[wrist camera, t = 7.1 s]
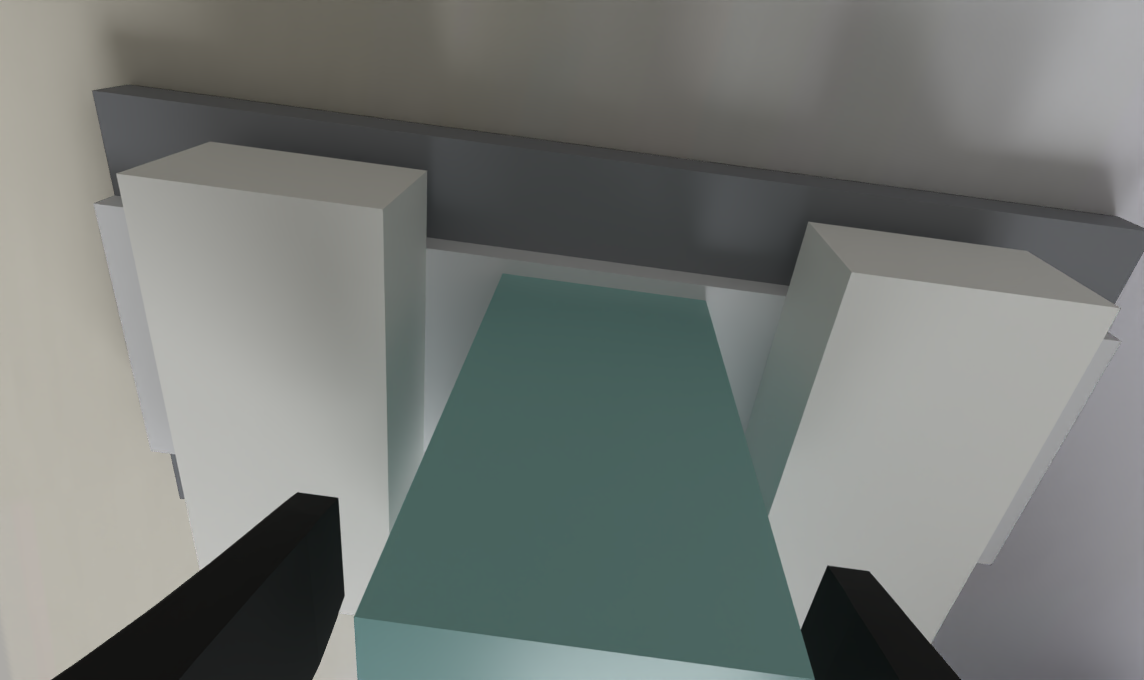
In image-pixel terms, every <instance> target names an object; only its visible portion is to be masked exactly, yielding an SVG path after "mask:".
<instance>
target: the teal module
mask: <svg viewBox="0 0 1144 680" xmlns="http://www.w3.org/2000/svg"><path fill="white" fill-rule="evenodd" d="M354 627H355V644H356V660H357V677H358V680H815V678H814V674H813V671H812V667H811V664H810V661H809V657H808V654H807V650H806V647H805V643H804V640H803V636H802V633H801V629H800V626H799V622H798V619H797V615H796V612H795V608H794V605H793V601H792V598H791V595H790V591H789V588H788V584H787V581H786V577H785V574H784V570H783V567H782V563H781V560H780V556H779V553H778V549H777V546H776V542H775V539H774V535H773V532H772V528H771V525H770V522H769V518H768V515H767V511H766V508H765V504H764V501H763V497H762V494H761V490H760V487H759V483H758V480H757V476H756V473H755V469H754V466H753V462H752V459H751V455H750V452H749V449H748V445H747V442H746V438H745V435H744V431H743V428H742V424H741V421H740V417H739V414H738V410H737V407H736V403H735V400H734V396H733V393H732V389H731V386H730V382H729V379H728V376H727V372H726V369H725V365H724V362H723V358H722V355H721V351H720V348H719V344H718V341H717V337H716V334H715V330H714V327H713V323H712V320H711V316H710V313H709V310H708V306H707V303H706V301H705V300H698V299H690V298H683V297H675V296H668V295H660V294H653V293H646V292H638V291H631V290H623V289H616V288H608V287H601V286H593V285H586V284H578V283H571V282H563V281H556V280H548V279H541V278H533V277H526V276H518V275H511V274H502V276H501V278H500V281H499V283H498V285H497V287H496V290H495V292H494V294H493V297H492V299H491V301H490V304H489V306H488V308H487V311H486V313H485V315H484V318H483V320H482V322H481V324H480V327H479V329H478V331H477V334H476V336H475V338H474V341H473V343H472V345H471V348H470V350H469V352H468V354H467V357H466V359H465V361H464V364H463V366H462V368H461V371H460V373H459V375H458V378H457V380H456V382H455V385H454V387H453V389H452V391H451V394H450V396H449V398H448V401H447V403H446V405H445V408H444V410H443V412H442V415H441V417H440V419H439V422H438V424H437V426H436V428H435V431H434V433H433V435H432V438H431V440H430V442H429V445H428V447H427V449H426V452H425V454H424V456H423V458H422V461H421V463H420V465H419V468H418V470H417V472H416V475H415V477H414V479H413V482H412V484H411V486H410V489H409V491H408V493H407V495H406V498H405V500H404V502H403V505H402V507H401V509H400V512H399V514H398V516H397V519H396V521H395V523H394V525H393V528H392V530H391V532H390V535H389V537H388V539H387V542H386V544H385V546H384V549H383V551H382V553H381V556H380V558H379V560H378V562H377V565H376V567H375V569H374V572H373V574H372V576H371V579H370V581H369V583H368V586H367V588H366V590H365V593H364V595H363V597H362V599H361V602H360V604H359V606H358V609H357V611H356V613H355V616H354Z"/></svg>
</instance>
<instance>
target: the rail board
mask: <svg viewBox="0 0 1144 680" xmlns="http://www.w3.org/2000/svg"><path fill="white" fill-rule="evenodd" d="M92 92H93V96H94V101H95V106H96V110H97V115H98V120H99V124H100V129H101V133H102V138H103V143H104V147H105V152H106V157H107V161H108V166H109V171H110V175H111V180H112V185H113V189H114V194H115V195H114V196H112V197H109V198H107V199H104V200H101V201H99V202H96V203H94V208H95V212H96V217H97V221H98V225H99V230H100V234H101V238H102V243H103V247H104V251H105V255H106V260H107V264H108V268H109V273H110V277H111V281H112V286H113V290H114V294H115V299H116V303H117V307H118V311H119V316H120V320H121V324H122V329H123V333H124V337H125V342H126V346H127V350H128V355H129V359H130V363H131V367H132V372H133V376H134V380H135V385H136V389H137V393H138V398H139V402H140V406H141V411H142V415H143V419H144V423H145V428H146V432H147V436H148V441H149V445H150V449H151V451H154V452H161V453H169V454H171V459H172V464H173V468H174V473H175V477H176V482H177V487H178V491H179V496H180V499H185V503H186V507H187V512H188V517H189V522H190V526H191V531H192V536H193V541H194V545H195V550H196V555H197V560H198V564H199V569H200V570H201V569H203V568H204V567H205V566H206V565H208V564H209V563H210V562H211V561H213V560H214V559H215V558H216V557H218V556H219V555H220V554H221V553H223V552H224V551H225V550H226V549H228V548H229V547H230V546H231V545H232V544H234V543H235V542H236V541H237V540H239V539H240V538H241V537H242V536H244V535H245V534H246V533H247V532H248V531H250V530H251V529H252V528H253V527H254V526H256V525H257V524H258V523H259V522H261V521H262V520H263V519H264V518H265V517H267V516H268V515H269V514H270V513H271V512H273V511H274V510H275V509H276V508H278V507H279V506H280V505H281V504H283V503H284V502H285V501H286V500H288V499H289V498H290V497H291V496H293V495H294V494H296V493H297V492H300V493H308V494H315V495H322V496H329V497H337V498H339V514H340V529H341V545H342V560H343V576H344V591H345V597H344V599H343V602H342V605H341V608H340V611H339V613H341V614H348V615H355V613H356V611H357V609H358V606H359V604H360V602H361V599H362V597H363V595H364V593H365V590H366V588H367V586H368V583H369V581H370V579H371V576H372V574H373V572H374V569H375V567H376V565H377V562H378V560H379V558H380V556H381V553H382V551H383V549H384V546H385V544H386V542H387V539H388V537H389V535H390V532H391V530H392V528H393V525H394V523H395V521H396V519H397V516H398V514H399V512H400V509H401V507H402V505H403V502H404V500H405V498H406V495H407V493H408V491H409V489H410V486H411V484H412V482H413V479H414V477H415V475H416V472H417V470H418V468H419V465H420V463H421V461H422V458H423V456H424V454H425V452H426V449H427V447H428V445H429V442H430V440H431V438H432V435H433V433H434V431H435V428H436V426H437V424H438V422H439V419H440V417H441V415H442V412H443V410H444V408H445V405H446V403H447V401H448V398H449V396H450V394H451V391H452V389H453V387H454V385H455V382H456V380H457V378H458V375H459V373H460V371H461V368H462V366H463V364H464V361H465V359H466V357H467V354H468V352H469V350H470V348H471V345H472V343H473V341H474V338H475V336H476V334H477V331H478V329H479V327H480V324H481V322H482V320H483V318H484V315H485V313H486V311H487V308H488V306H489V304H490V301H491V299H492V297H493V294H494V292H495V290H496V287H497V285H498V283H499V281H500V278H501V276H502V274H511V275H518V276H526V277H533V278H541V279H548V280H556V281H563V282H571V283H578V284H586V285H593V286H601V287H608V288H616V289H623V290H631V291H638V292H646V293H653V294H660V295H668V296H675V297H683V298H690V299H698V300H705V301H706V303H707V306H708V310H709V313H710V316H711V320H712V323H713V327H714V330H715V334H716V337H717V341H718V344H719V348H720V351H721V355H722V358H723V362H724V365H725V369H726V372H727V376H728V379H729V382H730V386H731V389H732V393H733V396H734V400H735V403H736V407H737V410H738V414H739V417H740V421H741V424H742V428H743V431H744V435H745V438H746V442H747V445H748V449H749V452H750V455H751V459H752V462H753V466H754V469H755V473H756V476H757V480H758V483H759V487H760V490H761V494H762V497H763V501H764V504H765V508H766V511H767V515H768V518H769V522H770V525H771V528H772V532H773V535H774V539H775V542H776V546H777V549H778V553H779V556H780V560H781V563H782V567H783V570H784V574H785V577H786V581H787V584H788V588H789V591H790V595H791V598H792V601H793V605H794V608H795V612H796V615H797V619H798V622H799V626H800V629H801V628H802V625H803V623H804V620H805V618H806V616H807V613H808V611H809V608H810V606H811V604H812V601H813V599H814V596H815V594H816V591H817V589H818V587H819V584H820V582H821V579H822V577H823V575H824V572H825V570H826V567H827V565H829V566H836V567H843V568H850V569H857V570H865V571H869V572H870V573H871V574H872V575H873V576H874V577H875V578H876V580H877V581H878V582H879V583H880V584H881V585H882V586H883V588H884V589H885V590H886V591H887V592H888V594H889V595H890V596H891V597H892V598H893V599H894V601H895V602H896V603H897V604H898V605H899V607H900V608H901V609H902V610H903V611H904V613H905V614H906V615H907V616H908V617H909V619H910V620H911V621H912V622H913V623H914V625H915V626H916V627H917V628H918V629H919V631H920V632H921V633H922V634H923V635H924V637H925V638H926V639H927V640H928V641H929V643H930V644H931V643H932V641H933V639H934V637H935V636H936V634H937V632H938V630H939V629H940V627H941V625H942V623H943V622H944V620H945V618H946V616H947V615H948V613H949V611H950V609H951V607H952V606H953V604H954V602H955V600H956V599H957V597H958V595H959V593H960V592H961V590H962V588H963V586H964V584H965V583H966V581H967V579H968V577H969V576H970V574H971V572H972V570H973V569H974V567H975V565H976V563H979V564H987V565H992V563H993V562H994V560H995V558H996V557H997V555H998V553H999V551H1000V550H1001V548H1002V546H1003V545H1004V543H1005V541H1006V539H1007V538H1008V536H1009V534H1010V532H1011V531H1012V529H1013V527H1014V526H1015V524H1016V522H1017V520H1018V519H1019V517H1020V515H1021V514H1022V512H1023V510H1024V508H1025V507H1026V505H1027V503H1028V502H1029V500H1030V498H1031V496H1032V495H1033V493H1034V491H1035V490H1036V488H1037V486H1038V484H1039V483H1040V481H1041V479H1042V478H1043V476H1044V474H1045V472H1046V471H1047V469H1048V467H1049V465H1050V464H1051V462H1052V460H1053V459H1054V457H1055V455H1056V453H1057V452H1058V450H1059V448H1060V447H1061V445H1062V443H1063V441H1064V440H1065V438H1066V436H1067V435H1068V433H1069V431H1070V429H1071V428H1072V426H1073V424H1074V423H1075V421H1076V419H1077V417H1078V416H1079V414H1080V412H1081V411H1082V409H1083V407H1084V405H1085V404H1086V402H1087V400H1088V398H1089V397H1090V395H1091V393H1092V392H1093V390H1094V388H1095V386H1096V385H1097V383H1098V381H1099V380H1100V378H1101V376H1102V374H1103V373H1104V371H1105V369H1106V368H1107V366H1108V364H1109V362H1110V361H1111V359H1112V357H1113V356H1114V354H1115V352H1116V350H1117V349H1118V347H1119V345H1120V344H1121V341H1120V340H1118V339H1117V338H1116V337H1114V336H1113V335H1111V334H1110V333H1108V330H1109V328H1110V327H1111V325H1112V323H1113V321H1114V320H1115V318H1116V316H1117V314H1118V312H1119V311H1120V309H1121V308H1119V307H1118V306H1116V305H1115V302H1116V300H1117V299H1118V297H1119V295H1120V293H1121V291H1122V290H1123V288H1124V286H1125V284H1126V282H1127V281H1128V279H1129V277H1130V275H1131V273H1132V272H1133V270H1134V268H1135V266H1136V265H1137V263H1138V261H1139V259H1140V257H1141V256H1142V254H1143V252H1144V228H1143V227H1140V226H1138V225H1136V224H1133V223H1131V222H1129V221H1127V220H1124V219H1122V218H1120V217H1116V216H1108V215H1101V214H1093V213H1086V212H1078V211H1071V210H1063V209H1056V208H1048V207H1041V206H1033V205H1026V204H1018V203H1011V202H1003V201H996V200H988V199H981V198H973V197H966V196H959V195H951V194H944V193H936V192H929V191H921V190H914V189H906V188H899V187H891V186H884V185H876V184H869V183H861V182H854V181H846V180H839V179H831V178H824V177H816V176H809V175H801V174H794V173H786V172H779V171H771V170H764V169H756V168H749V167H741V166H734V165H726V164H719V163H711V162H704V161H696V160H689V159H682V158H674V157H667V156H659V155H652V154H644V153H637V152H629V151H622V150H614V149H607V148H599V147H592V146H584V145H577V144H569V143H562V142H554V141H547V140H539V139H532V138H524V137H517V136H509V135H502V134H494V133H487V132H479V131H472V130H464V129H457V128H449V127H442V126H434V125H427V124H419V123H412V122H405V121H397V120H390V119H382V118H375V117H367V116H360V115H352V114H345V113H337V112H330V111H322V110H315V109H307V108H300V107H292V106H285V105H277V104H270V103H262V102H255V101H247V100H240V99H232V98H225V97H217V96H210V95H202V94H195V93H187V92H180V91H172V90H165V89H157V88H150V87H142V86H135V85H123V86H117V87H111V88H105V89H99V90H93V91H92Z"/></svg>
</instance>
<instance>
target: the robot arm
mask: <svg viewBox="0 0 1144 680" xmlns="http://www.w3.org/2000/svg"><path fill="white" fill-rule="evenodd" d="M344 597H345V591H344V576H343V560H342V545H341V529H340V514H339V498H337V497H329V496H322V495H315V494H308V493H300V492H297V493H296V494H294V495H293V496H291V497H290V498H289V499H288V500H286V501H285V502H284V503H283V504H281V505H280V506H279V507H278V508H276V509H275V510H274V511H273V512H271V513H270V514H269V515H268V516H267V517H265V518H264V519H263V520H262V521H261V522H259V523H258V524H257V525H256V526H254V527H253V528H252V529H251V530H250V531H248V532H247V533H246V534H245V535H244V536H242V537H241V538H240V539H239V540H237V541H236V542H235V543H234V544H232V545H231V546H230V547H229V548H228V549H226V550H225V551H224V552H223V553H221V554H220V555H219V556H218V557H216V558H215V559H214V560H213V561H211V562H210V563H209V564H208V565H206V566H205V567H204V568H203V569H201V570H200V571H199V572H197V573H196V574H195V575H194V576H192V577H191V578H190V579H189V580H187V581H186V582H185V583H183V584H182V585H181V586H180V587H178V588H177V589H176V590H174V591H173V592H172V593H171V594H169V595H168V596H167V597H165V598H164V599H163V600H162V601H160V602H159V603H158V604H156V605H155V606H154V607H152V608H151V609H150V610H148V611H147V612H146V613H144V614H143V615H142V616H140V617H139V618H137V619H136V620H135V621H133V622H132V623H131V624H129V625H128V626H126V627H125V628H124V629H122V630H121V631H120V632H118V633H117V634H115V635H114V636H113V637H111V638H110V639H108V640H107V641H106V642H104V643H103V644H102V645H100V646H99V647H97V648H96V649H95V650H93V651H92V652H91V653H89V654H88V655H86V656H85V657H84V658H82V659H81V660H79V661H78V662H76V663H75V664H74V665H72V666H71V667H69V668H68V669H66V670H65V671H63V672H62V673H60V674H59V675H57V676H56V677H55V678H53V679H52V680H312V679H313V677H314V675H315V673H316V671H317V669H318V667H319V665H320V662H321V659H322V657H323V654H324V651H325V649H326V646H327V644H328V641H329V638H330V636H331V633H332V630H333V627H334V625H335V622H336V619H337V616H338V613H339V611H340V608H341V605H342V602H343V599H344ZM801 633H802V636H803V640H804V643H805V647H806V650H807V654H808V657H809V661H810V664H811V667H812V671H813V674H814V678H815V680H961V679H960V678H959V677H958V676H957V675H956V673H955V672H954V671H953V670H952V669H951V668H950V666H949V665H948V664H947V663H946V662H945V660H944V659H943V658H942V657H941V656H940V655H939V653H938V652H937V651H936V650H935V649H934V647H933V646H932V645H931V644H930V643H929V641H928V640H927V639H926V638H925V637H924V635H923V634H922V633H921V632H920V631H919V629H918V628H917V627H916V626H915V625H914V623H913V622H912V621H911V620H910V619H909V617H908V616H907V615H906V614H905V613H904V611H903V610H902V609H901V608H900V607H899V605H898V604H897V603H896V602H895V601H894V599H893V598H892V597H891V596H890V595H889V594H888V592H887V591H886V590H885V589H884V588H883V586H882V585H881V584H880V583H879V582H878V581H877V580H876V578H875V577H874V576H873V575H872V574H871V573H870V572H869V571H865V570H857V569H850V568H843V567H836V566H829V565H827V567H826V570H825V572H824V575H823V577H822V579H821V582H820V584H819V587H818V589H817V591H816V594H815V596H814V599H813V601H812V604H811V606H810V608H809V611H808V613H807V616H806V618H805V620H804V623H803V625H802V628H801Z"/></svg>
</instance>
